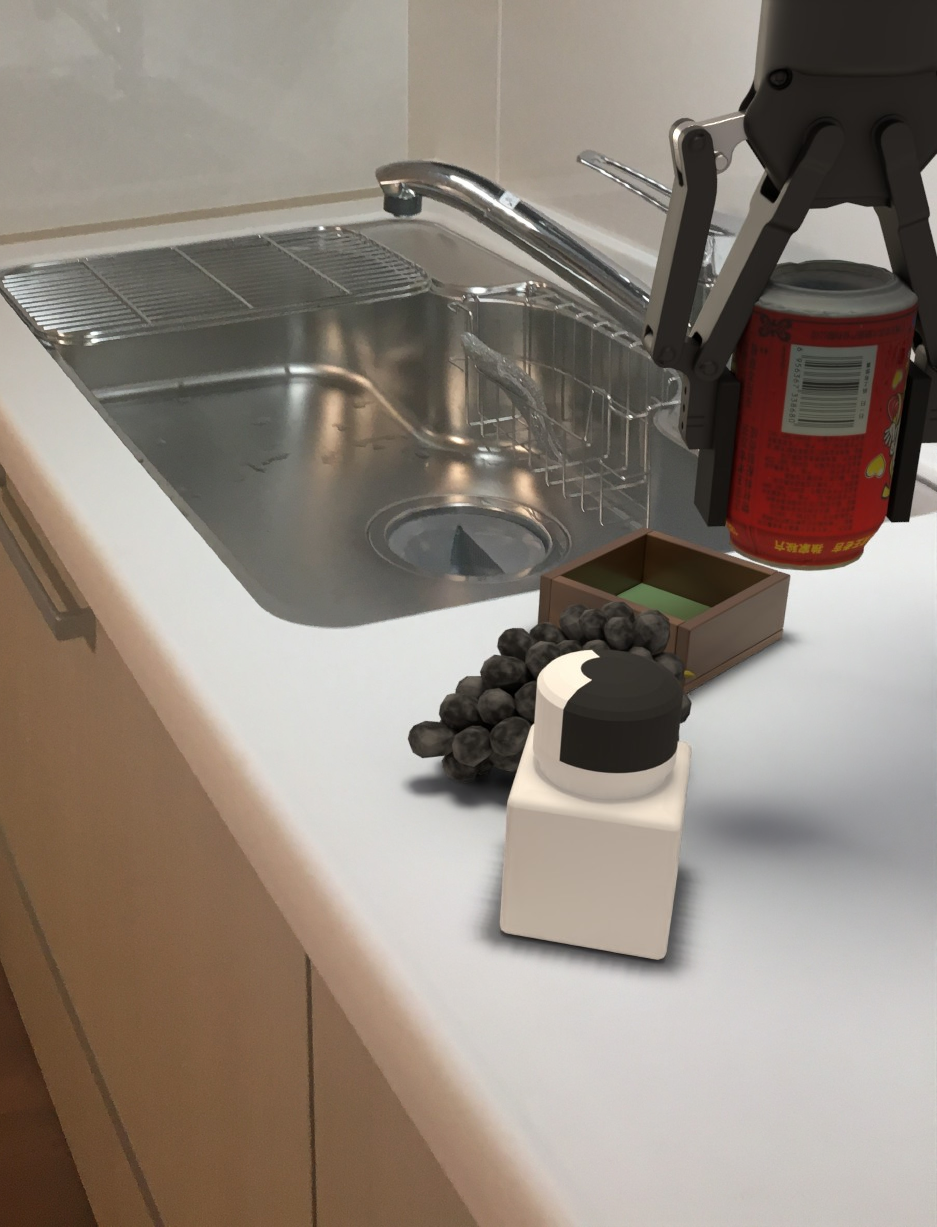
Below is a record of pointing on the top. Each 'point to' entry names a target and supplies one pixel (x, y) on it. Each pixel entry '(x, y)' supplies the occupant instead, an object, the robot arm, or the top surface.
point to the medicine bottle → (598, 806)
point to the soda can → (818, 413)
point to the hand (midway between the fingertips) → (799, 511)
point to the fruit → (531, 685)
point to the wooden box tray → (678, 597)
